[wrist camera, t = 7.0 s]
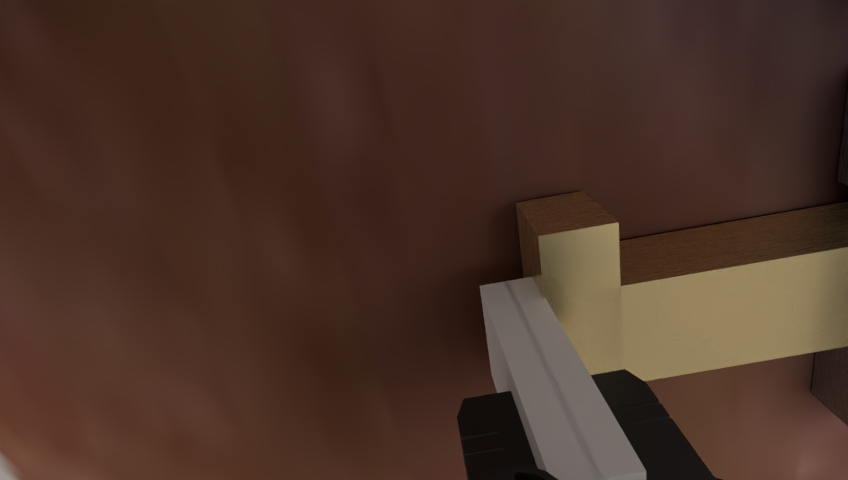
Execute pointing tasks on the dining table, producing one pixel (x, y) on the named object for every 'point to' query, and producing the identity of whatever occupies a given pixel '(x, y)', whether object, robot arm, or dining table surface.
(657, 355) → the t-shaped block
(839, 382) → the socket
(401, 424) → the dining table surface
